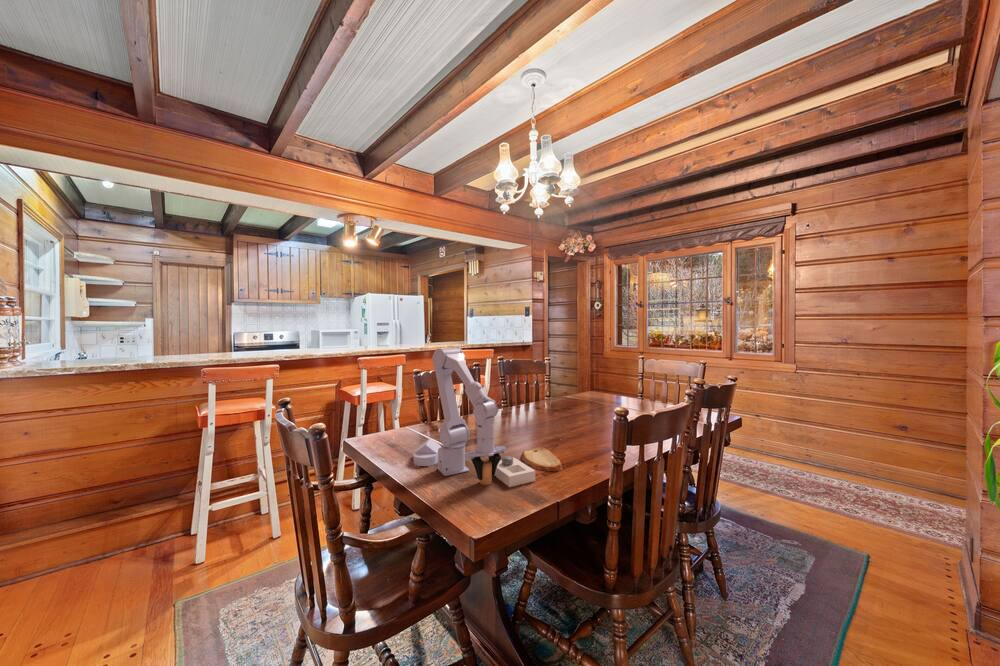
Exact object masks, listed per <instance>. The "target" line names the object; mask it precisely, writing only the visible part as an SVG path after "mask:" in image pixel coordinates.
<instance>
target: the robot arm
mask: <svg viewBox="0 0 1000 666" xmlns="http://www.w3.org/2000/svg"><path fill="white" fill-rule="evenodd" d="M431 359H432V364H433V369H434V372H435V377H436V382H437V386H438V393H439V396H440V403H441V407H442V411H443V412H442V413H443V417H444V421H442V423H441V424H440V425H439V441H440V443H441V448H439V449H438V462H437V467H436V468H437V471H439V472H440V473H441V474H442V475H443V476H444V477H447V476H452V475H456V474H457V475H458V474H461V473H466V472H469V471H470V469H469V467H467V466H466V461H468V462H469V461H471V462H472V464H473V467H474V469H475V471H476V477H477V478H476V479H478V480H479V481H480V480H482V467H483V461H482V460H483V459H482V458H483V457H484V458H485V457H488V460H491V461H492V478H495V472H496V468H497V466H498V463H499V462H500V460H502V456H501V455H500V454H503V455H504V454H507V447H506V446H504V445H502V446H495V417H496V416H497V415H498V412H499V407H498V404H497V402H496V400H494V399H493V398H491V397H489V396H488V395H487V393H486V391H485V390H484V388H483V386H482V385H481V383H480V382H477V381H475V380H474V378H473V376H472V374H471V372H470V370H469V368H468V366H467V364H466V361H465V360H466V355H465V354H464V352H463V350H462V348H461V347H459V346H455V347H445V348H440V347H439V348H436V349H435V350H434V352H433V354H432V357H431ZM453 372H455V373H456V375H457V376H458V377H459V379H460V381H461V382H462V383H463V384H464V386H465V389H464V393H465V394H466V396H467V398H468V399H469V401H470V402H471V405H472V406H473V410H472V413H473V417H474V418H475V424H476V431H477V432H476V443H477V444H476V445H477V446H476V447H477V448H476V449H474V450H471V451H468V452H466V445H467V441H469V439H470V435H471V434H470V433H471V432H470V430H469V427H468V425H467V421H466V420H465V419H464V418H462V417H461V416H460V412H459V408H458V403H457V398H456V393H455V388H454V383H453V378H452V373H453Z"/></svg>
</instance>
